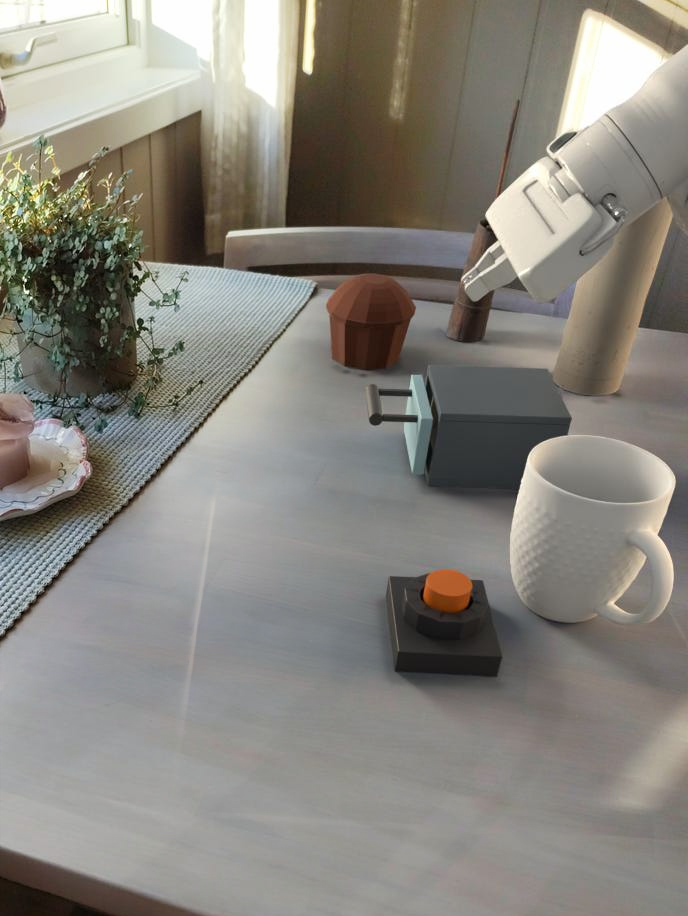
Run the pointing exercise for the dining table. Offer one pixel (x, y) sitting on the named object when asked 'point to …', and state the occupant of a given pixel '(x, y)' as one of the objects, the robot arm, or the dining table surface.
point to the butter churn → (466, 313)
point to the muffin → (369, 321)
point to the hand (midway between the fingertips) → (466, 291)
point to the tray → (408, 418)
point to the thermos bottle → (611, 307)
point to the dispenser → (490, 423)
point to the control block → (441, 632)
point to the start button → (447, 591)
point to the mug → (590, 529)
